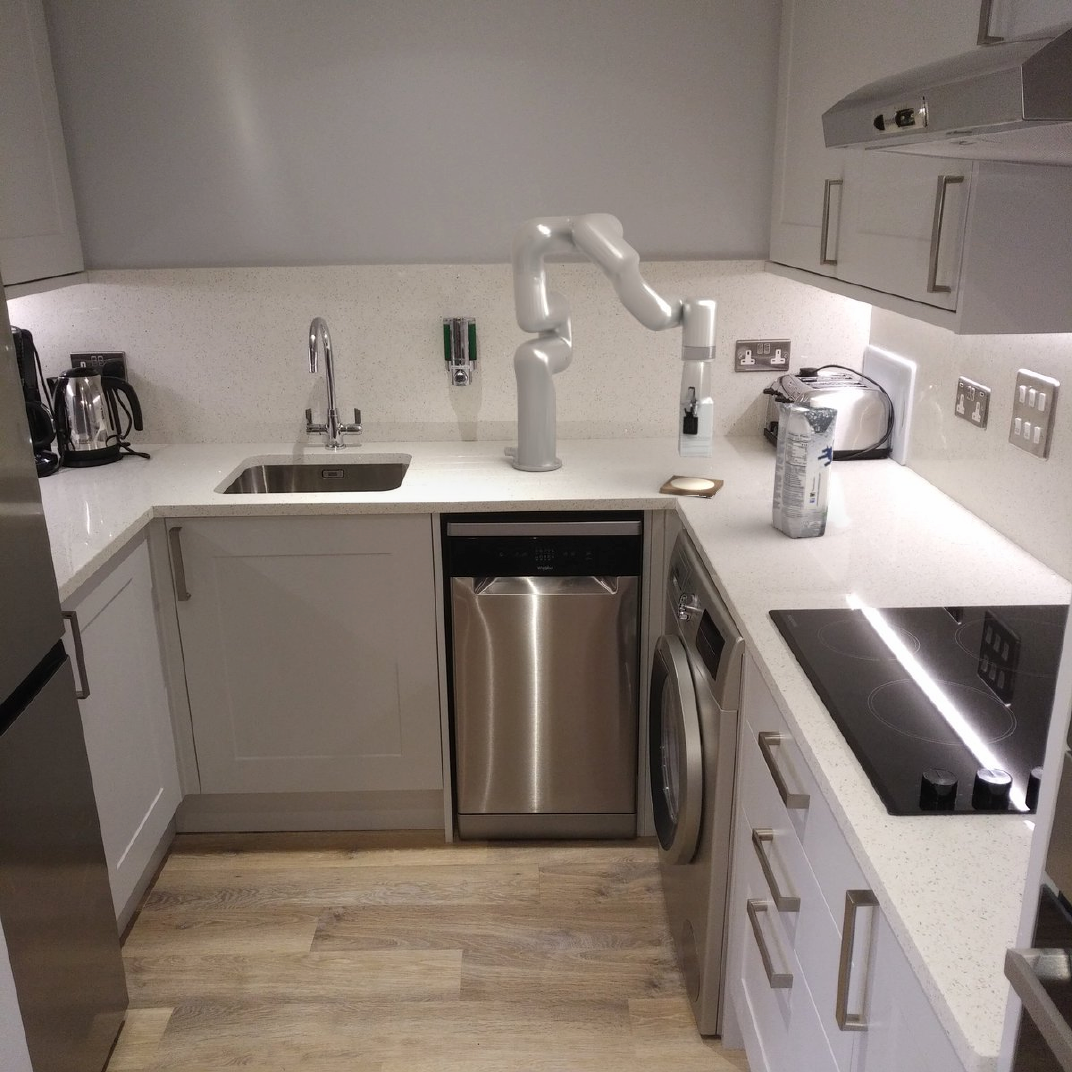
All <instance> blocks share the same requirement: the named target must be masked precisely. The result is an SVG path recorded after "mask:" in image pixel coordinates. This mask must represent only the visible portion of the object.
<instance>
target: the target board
mask: <svg viewBox="0 0 1072 1072" xmlns="http://www.w3.org/2000/svg"><path fill="white" fill-rule="evenodd" d="M723 486H724V479H714V478H704V477H695V476H685V475H674V474H673V475H672V476H671V477H670V478H669V479H668V480H667V481H666V482H665V483H664V484H663V485H661V486H660V488H659V494H663V495H664V494H665V495H673V496H674V495H676V496H683V495H699V496H706V497H712V496H713V495H714V496H716V494H717V493H718V492H719V491H720V490H721V489H722V487H723ZM719 489H720V490H719ZM718 490H719V491H718ZM717 491H718V492H717ZM716 492H717V493H716Z"/></svg>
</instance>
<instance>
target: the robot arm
mask: <svg viewBox="0 0 1072 1072" xmlns="http://www.w3.org/2000/svg"><path fill="white" fill-rule="evenodd" d="M513 233H514V234H513V236H512V238H511V242H510V247H509V248H510V250H509V251H510V255H509V256H510V262H511V263H510V264H511V269H512V277H513V295H514V307H515V308H514V311H515V319H516V324H517V326H518V327H519V329H520V330H521V331H523V332H524V333H529V334H537V335H538V337H536V338H532V339H529V340H526V341H524V342H522V343H521V344H520V345H519V346H518V347H517V349H516V350H515V352H514V355H513V368H514V369H513V370H514V375H515V380H516V391H517V392H516V393H517V395H516V396H517V397H516V399H517V446H515V447H512V446H504V447H503V453H504V456H507V457H508V456H511V457H513V460H511V465H512V468H514V469H517V470H520V471H526V472H548V471H554V470H557V469H560V468H561V467H562V466H563V460H562V459H561V458H559V457H557V450H556V449H557V397H556V396H557V395H556V393H557V392H556V386H555V384H554V380H553V376H552V375H555V374H560V373H562V372H564V371H565V370H567V369H568V368H569V367H570V365H571V363H572V362H573V357H574V340H573V338H574V337H573V323H572V313H571V312H572V311H571V308H570V305H569V301H568V299H567V298H566V297H565V296H564V295H563V294H562V293H561V292H559V291H556V290H551V289H550V275H549V271H548V268H547V265H546V262H545V260H544V257H545V256H546V255H557V254H569V253H582V254H583V255H585V257H586V258H588V259H589V261H591V262H592V264H593V265H595V267H596V268H598V269H599V271H601V273H602V274H604V276H605V277H606V278H607V279H608V280H609V281H610V283H612V285H613V289H614V291H615V294H616V295H617V297H618V299H619V301H620V303H621V305H622V306H623V307H624V308H625V310H627V311H628V312H629V314H631V315H632V316H633V318H634V319H636V321H638V322H639V324H641V325H642V326H643V327H645V328H646V329H647V330H650V331H653V332H661V331H666V330H669V329H674V328H678V327H679V328H680V327H682V332H681V334H682V335H681V337H682V338H681V355H680V356H681V357H680V359H681V361H682V362H683V365H682V371H681V372H682V373H681V381H680V382H681V383H680V395H679V405H680V404H681V405H682V404H685V407H684V420H683V434H689V435H697V433H698V417H697V413H698V407H699V406H701V405H702V403H703V402H704V401H705V400H707V399H708V398H709V397H711V389H712V387H711V385H712V362H715V361H716V356H717V355H716V354H717V333H718V330H717V329H718V310H719V303H718V300H717V298H716V297H714V296H708V295H692V296H691V295H686V294H681V293H677V292H676V293H675V292H673V293H672V292H671V293H667V294H658V293H657V292H656V291H655V290H654V289H653V287H651V286H650V285H649V284H648V282H646V281H645V279H644V278H643V276H642V274H641V272H640V268H639V264H640V261H641V258H640V254H639V252H637V250H635V249H634V248H633V247H632V246H631V245H630V244H629V243H628V242H627V241H626V240H625V239H624V238H623V237H624V228H623V225H622V223H621V222H620V219H618V218H617V217H616V216H615V215H613V214H610V213H607V212H602V213H601V212H598V213H594V212H591V213H587V214H583V215H561V216H558V215H557V216H555V215H554V216H553V215H551V216H540V217H539V216H538V217H534V218H531V219H528V220H526V221H524V222H523V223H522V224H521V225H520V226H519V227H517V229H516V230H515V232H513ZM692 402H697V403H692ZM694 408H695V409H694Z"/></svg>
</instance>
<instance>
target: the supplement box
mask: <svg viewBox="0 0 1072 1072" xmlns="http://www.w3.org/2000/svg"><path fill="white" fill-rule="evenodd" d="M692 403H697V402H692ZM714 405H715V403H714V401H713V398H712V397H711V396H710V397H709V398H708V399H707V400H705V401H704V402H703V403H702V405H701V406H699V407H698V413H697V417H698V433H697V435H689V434H683V420H684V407H685V404H682V405H681V404H680V403H679V413H678V414H679V419H678V420H679V422H678V425H679V426H678V442H677V443H678V445H677V449H678V455H679V458H712V450H713V448H712V447H713V445H712V444H713V427H714V426H713V425H714V424H713V423H714ZM694 409H695V408H694Z"/></svg>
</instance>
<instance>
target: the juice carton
mask: <svg viewBox="0 0 1072 1072" xmlns="http://www.w3.org/2000/svg"><path fill="white" fill-rule="evenodd" d="M825 405H826V399H823V398H819V397H817V398H815V397H811V398H810V400H809V401H799V402H797V401H796V402H785V403H784V402H783V403H780V404H779V413H778V415H779V417H778V419H779V420H778V429H777V441H776V457H775V467H774V468H775V470H774V481H773V482H774V484H773V494H772V507H771V508H772V509H771V510H772V511H771V516H772V517H771V519H772V522H771V524H772V527H774V528H775V529H777V528H778V529H777V530H779V529H780V530H779V531H781V532H782V531H783V532H782V533H784V534H785V533H786V535H787V536H788V535H789V536H788V537H790V536H791V537H790V538H791V539H798V538H797V537H802V538H809V537H808V536H812V537H821V536H824V535H825V532H826V527H827V526H826V525H827V520H828V512H829V510H828V509H829V500H830V491H831V490H830V489H831V480H832V467H833V457H834V447H835V434H836V425H837V424H836V423H837V417H838V410H837V409H835V408H833V407H826V406H825Z"/></svg>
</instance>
